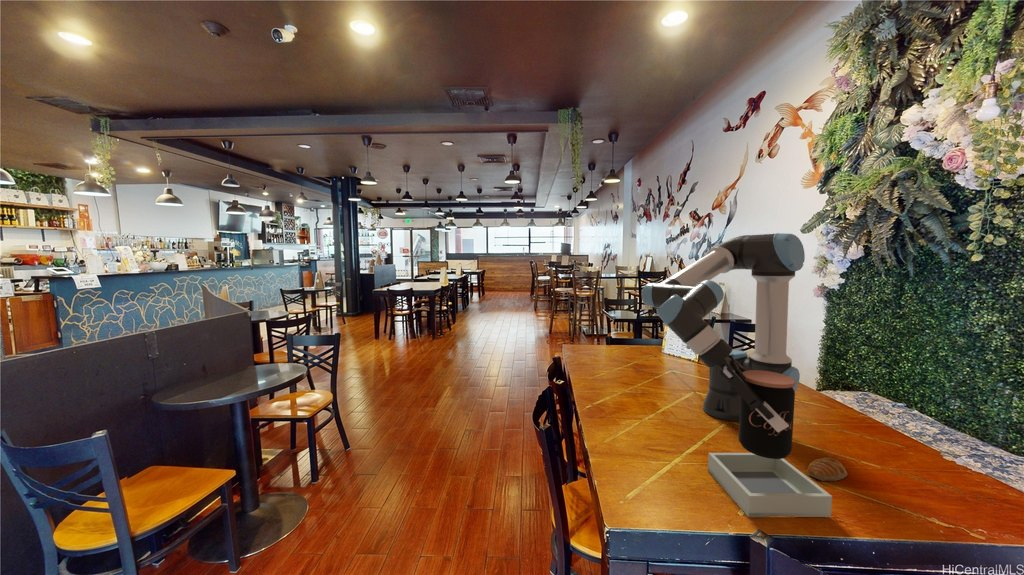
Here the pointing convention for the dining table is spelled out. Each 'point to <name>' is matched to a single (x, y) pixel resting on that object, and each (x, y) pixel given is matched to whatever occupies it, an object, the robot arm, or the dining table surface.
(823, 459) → the pastry
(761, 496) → the tray
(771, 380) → the coffee jar
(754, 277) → the robot arm
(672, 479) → the dining table surface
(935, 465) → the dining table surface
